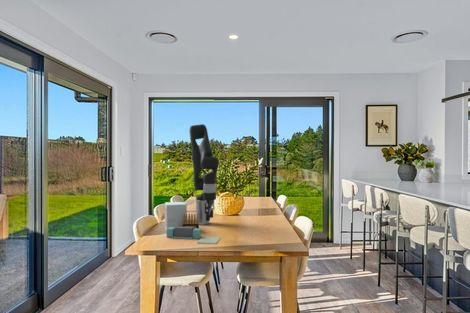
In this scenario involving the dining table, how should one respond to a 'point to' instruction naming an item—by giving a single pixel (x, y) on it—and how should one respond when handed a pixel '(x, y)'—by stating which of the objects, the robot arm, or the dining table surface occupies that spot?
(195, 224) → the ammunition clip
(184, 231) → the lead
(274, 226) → the dining table surface
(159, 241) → the dining table surface
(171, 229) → the clamp
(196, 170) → the robot arm
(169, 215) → the supplement box
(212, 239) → the mat
